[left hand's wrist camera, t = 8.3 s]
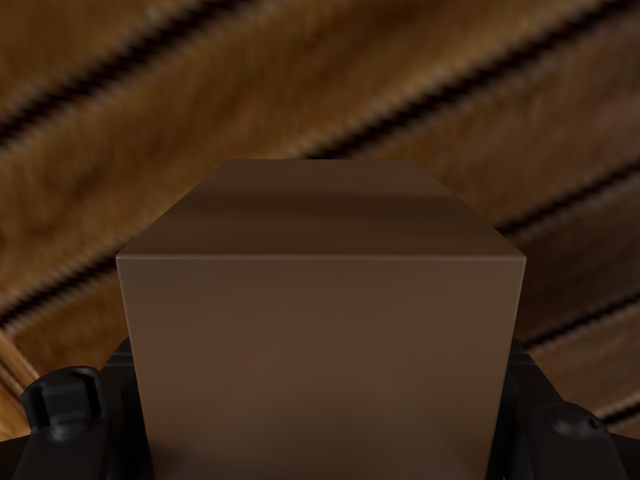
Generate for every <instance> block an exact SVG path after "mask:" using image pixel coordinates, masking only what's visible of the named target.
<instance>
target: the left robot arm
mask: <svg viewBox="0 0 640 480" xmlns="http://www.w3.org/2000/svg"><path fill="white" fill-rule="evenodd" d="M21 399H22V402H23V405H24V409H25V412H26V415H27V419H28V422H29V426H30V429H31V434H30V435H27V436H23V437H19V438H15V439H11V440H6V441H2V442H0V480H136V478H137V480H155V479H154V474H153V468H152V462H151V457H150V451H149V445H148V440H147V434H146V428H145V423H144V417H143V411H142V406H141V400H140V394H139V389H138V383H137V377H136V372H135V366H134V360H133V355H132V349H131V343H130V338H129V337H128V338H126V339H125V340H123V342H122V343H121V344H120V346H119V347H118V348H117V350H116V351H115V352H114V356H111V358H110V359H109V360H108V362H107V363H106V366H105V367H103V368H102V370H101V371H100V372H99V371H98V370H97V369H96V368H93V367H88V366H70V367H66V368H63V369H59V370H55V371H53V372H51V373H48V374H46V375H44V376H42V377H40V378H39V379H37V380H36V381H34V382H33V383H32V384H30V385H29V386H28V387H27V388H26V389H25V391H24V392H23V393H22V394H21ZM503 476H504V478H505V480H640V440H638V439H633V438H629V437H624V436H620V435H617V434H613V433H610V432H609V431H608V430H607V428H606V427H605V425H604V424H603V422H602V421H601V420H600V419H598V418H597V417H596V416H595V415H594V414H592V413H591V412H590V411H588V410H586V409H584V408H582V407H580V406H578V405H576V404H573V403H569V402H566V401H564V400H563V399H562V398H561V396H560V395H559V394H558V392H557V391H556V390H555V388H554V387H553V386H552V384H551V383H550V382H549V380H548V379H547V378H546V376H545V375H544V374H543V372H542V371H541V370H540V368H539V367H538V366H537V365H535V362H534V361H533V359H532V358H531V357H530V355H529V354H527V351H526V350H525V349H524V347H523V346H522V345H521V343H520V342H519V341H518V339H516V338H515V337H513V336H512V342H511V347H510V352H509V358H508V363H507V369H506V374H505V379H504V385H503V390H502V396H501V401H500V406H499V412H498V417H497V423H496V428H495V433H494V439H493V444H492V450H491V455H490V460H489V466H488V471H487V477H486V480H503Z"/></svg>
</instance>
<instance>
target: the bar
mask: <svg viewBox="0 0 640 480" xmlns="http://www.w3.org/2000/svg"><path fill="white" fill-rule="evenodd" d="M526 261H527V260H526V256H525V255H524V254H523V253H522V252H521V251H520V250H518V249H517V248H516V247H515V246H514V245H513V244H512V243H510V242H509V241H508V240H507V239H506V238H505V237H503V236H502V235H501V234H500V233H499V232H498V231H496V230H495V229H494V228H493V227H492V226H491V225H489V224H488V223H487V222H486V221H485V220H484V219H482V218H481V217H480V216H479V215H478V214H477V213H476V212H474V211H473V210H472V209H471V208H470V207H469V206H467V205H466V204H465V203H464V202H463V201H462V200H460V199H459V198H458V197H457V196H456V195H455V194H453V193H452V192H451V191H450V190H449V189H448V188H447V187H445V186H444V185H443V184H442V183H441V182H440V181H438V180H437V179H436V178H435V177H434V176H433V175H431V174H430V173H429V172H428V171H427V170H426V169H424V168H423V167H422V166H421V165H420V164H419V163H417V162H416V161H415V160H266V159H227V160H225V161H224V162H223V163H222V164H221V165H220V166H218V167H217V168H216V169H215V170H214V171H213V172H212V173H210V174H209V175H208V176H207V177H206V178H205V179H203V180H202V181H201V182H200V183H199V184H198V185H196V186H195V187H194V188H193V189H192V190H191V191H189V192H188V193H187V194H186V195H185V196H184V197H183V198H181V199H180V200H179V201H178V202H177V203H176V204H174V205H173V206H172V207H171V208H170V209H169V210H167V211H166V212H165V213H164V214H163V215H162V216H161V217H159V218H158V219H157V220H156V221H155V222H154V223H152V224H151V225H150V226H149V227H148V228H147V229H145V230H144V231H143V232H142V233H141V234H140V235H139V236H137V237H136V238H135V239H134V240H133V241H132V242H130V243H129V244H128V245H127V246H126V247H125V248H123V249H122V250H121V251H120V252H119V253H118V254H117V255H116V264H117V269H118V275H119V281H120V286H121V292H122V298H123V303H124V309H125V315H126V321H127V326H128V332H129V338H130V343H131V349H132V355H133V360H134V366H135V372H136V377H137V383H138V389H139V394H140V400H141V406H142V411H143V417H144V423H145V428H146V434H147V440H148V445H149V451H150V457H151V462H152V468H153V474H154V479H155V480H486V477H487V471H488V466H489V460H490V455H491V450H492V444H493V439H494V433H495V428H496V423H497V417H498V412H499V406H500V401H501V396H502V390H503V385H504V379H505V374H506V369H507V363H508V358H509V352H510V347H511V342H512V336H513V331H514V325H515V320H516V315H517V309H518V304H519V298H520V293H521V288H522V282H523V277H524V271H525V266H526Z"/></svg>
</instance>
